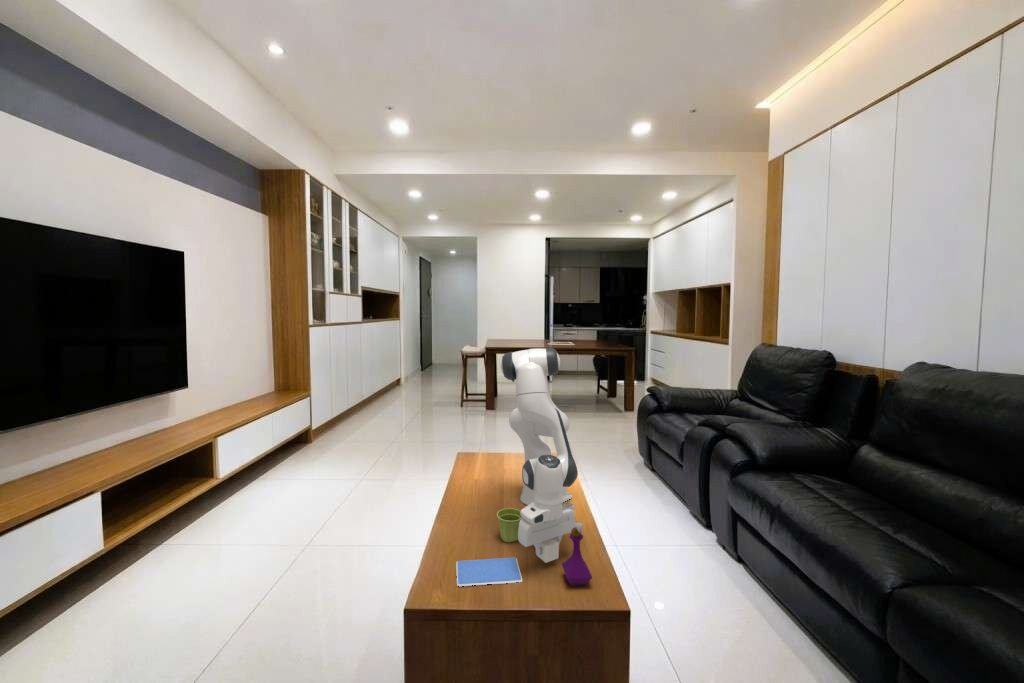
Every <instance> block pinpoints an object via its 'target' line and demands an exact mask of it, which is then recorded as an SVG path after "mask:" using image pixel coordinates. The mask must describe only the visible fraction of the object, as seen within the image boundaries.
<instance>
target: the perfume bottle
mask: <svg viewBox="0 0 1024 683" xmlns="http://www.w3.org/2000/svg"><path fill="white" fill-rule="evenodd" d="M573 524H574V525H575V527H574V528H573V529H572V530H571V532H570V534H569V536H568V537H569V538H570V540H571V541H572V544H573V550H572V554H571V556H569V557H568V559H566V560H565V561H563V562H562V563H561V566H562V569H563V572H564V575H565V578H566V580H567V581H568V584H569V585H570V586H571V585H576V586H586V584H588V583H589V582H590V581H591V580H592V579H593V575H592V573H591V572H590V569H589V566H588V564H587V562H586V561H585V560H584V558H583V555H582V553H581V545H580V544H581V541H582V540H583V539H584V535H583V534H582V529H583V526H584V524H583V522H575V523H573Z"/></svg>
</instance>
